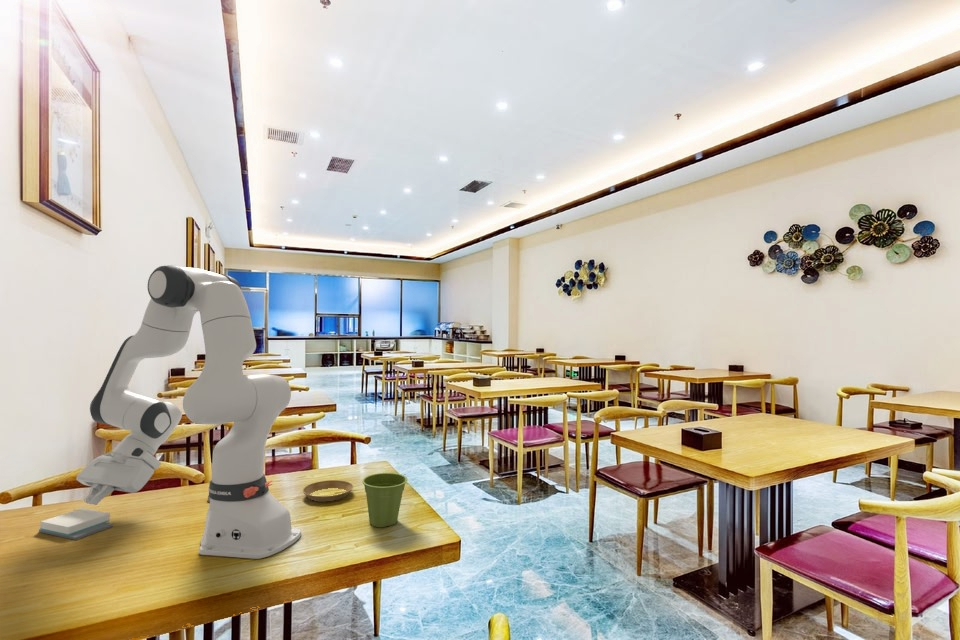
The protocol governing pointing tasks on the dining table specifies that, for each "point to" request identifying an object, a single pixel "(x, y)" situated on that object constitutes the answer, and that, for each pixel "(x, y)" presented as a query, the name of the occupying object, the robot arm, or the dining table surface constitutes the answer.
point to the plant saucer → (326, 485)
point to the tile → (74, 521)
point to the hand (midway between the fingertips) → (89, 503)
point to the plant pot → (384, 497)
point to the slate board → (82, 532)
